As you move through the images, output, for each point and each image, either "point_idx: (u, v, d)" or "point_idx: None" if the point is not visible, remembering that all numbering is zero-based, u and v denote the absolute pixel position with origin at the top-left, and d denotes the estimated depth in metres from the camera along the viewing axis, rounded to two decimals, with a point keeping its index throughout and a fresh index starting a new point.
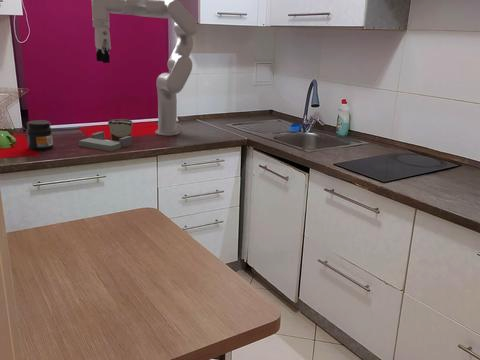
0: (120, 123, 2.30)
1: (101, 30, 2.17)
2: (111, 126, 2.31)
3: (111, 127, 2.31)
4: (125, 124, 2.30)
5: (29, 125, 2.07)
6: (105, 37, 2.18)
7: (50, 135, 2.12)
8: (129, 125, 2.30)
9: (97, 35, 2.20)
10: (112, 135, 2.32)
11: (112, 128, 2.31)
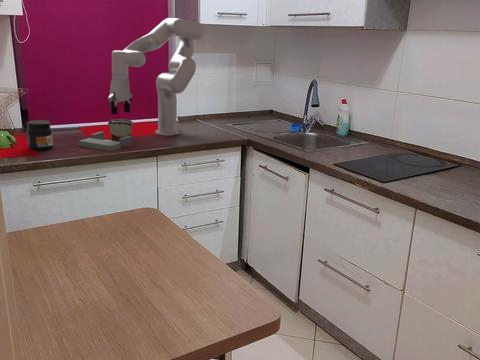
0: (120, 123, 2.30)
1: None
2: (111, 126, 2.31)
3: (111, 127, 2.31)
4: (125, 124, 2.30)
5: (29, 125, 2.07)
6: None
7: (50, 135, 2.12)
8: (129, 125, 2.30)
9: (126, 88, 2.28)
10: (112, 135, 2.32)
11: (112, 128, 2.31)
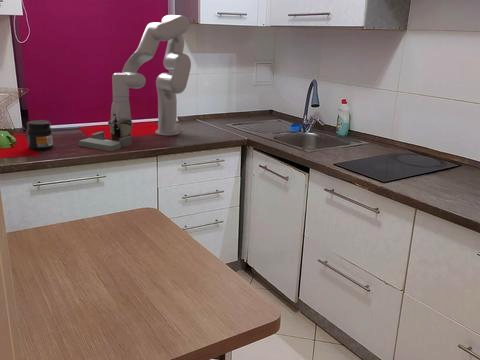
0: (120, 123, 2.30)
1: None
2: (111, 126, 2.31)
3: (111, 127, 2.31)
4: (125, 124, 2.30)
5: (29, 125, 2.07)
6: None
7: (50, 135, 2.12)
8: (129, 125, 2.30)
9: (127, 109, 2.31)
10: (112, 135, 2.33)
11: (111, 127, 2.31)
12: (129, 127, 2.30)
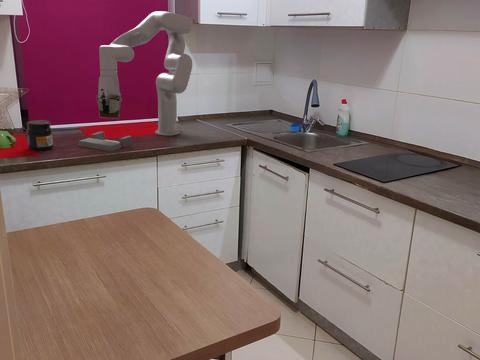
0: None
1: None
2: (99, 102, 2.21)
3: (99, 103, 2.21)
4: (113, 99, 2.19)
5: (29, 125, 2.07)
6: None
7: (50, 135, 2.12)
8: (117, 100, 2.19)
9: (115, 84, 2.20)
10: (100, 111, 2.22)
11: (100, 103, 2.21)
12: (118, 103, 2.19)
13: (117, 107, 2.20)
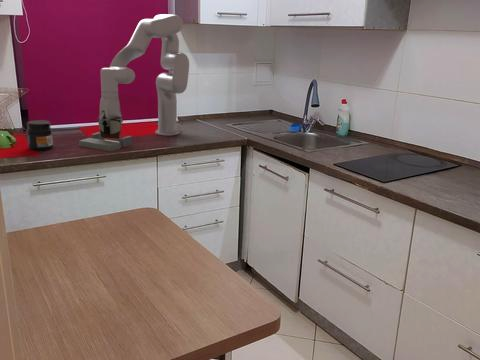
0: None
1: None
2: (100, 123, 2.24)
3: (100, 124, 2.24)
4: (114, 121, 2.22)
5: (29, 125, 2.07)
6: None
7: (50, 135, 2.12)
8: (118, 122, 2.22)
9: (116, 105, 2.23)
10: (101, 132, 2.25)
11: (101, 124, 2.24)
12: (118, 124, 2.22)
13: (118, 128, 2.23)
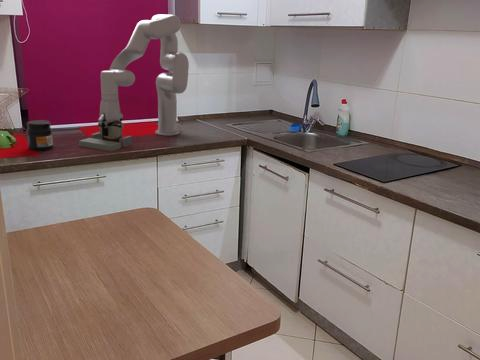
0: (110, 125, 2.23)
1: None
2: (101, 128, 2.25)
3: (101, 129, 2.25)
4: (115, 126, 2.23)
5: (29, 125, 2.07)
6: None
7: (50, 135, 2.12)
8: (119, 127, 2.23)
9: (116, 108, 2.24)
10: (102, 137, 2.26)
11: None
12: (119, 129, 2.23)
13: (119, 133, 2.24)
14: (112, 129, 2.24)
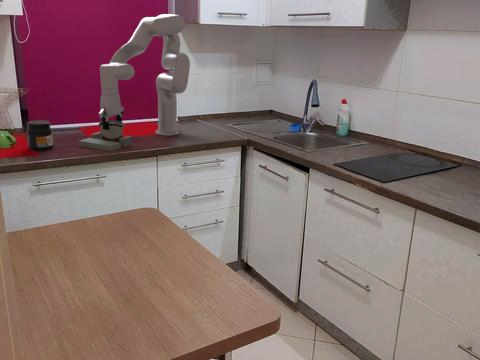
0: (111, 125, 2.24)
1: None
2: (102, 128, 2.25)
3: (102, 129, 2.26)
4: (116, 126, 2.24)
5: (29, 125, 2.07)
6: None
7: (50, 135, 2.12)
8: (120, 127, 2.24)
9: (117, 102, 2.23)
10: (103, 137, 2.27)
11: (102, 129, 2.26)
12: (120, 129, 2.24)
13: (119, 133, 2.25)
14: (113, 129, 2.25)
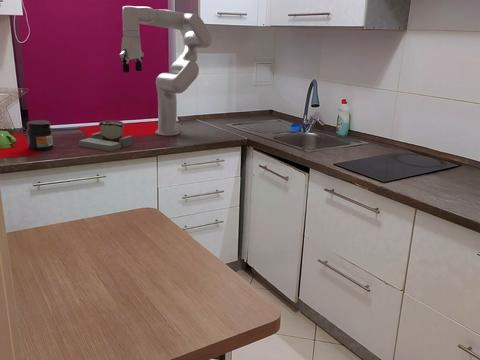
0: (111, 125, 2.24)
1: None
2: (102, 128, 2.25)
3: (102, 129, 2.26)
4: (116, 126, 2.24)
5: (29, 125, 2.07)
6: None
7: (50, 135, 2.12)
8: (120, 127, 2.24)
9: (137, 45, 2.24)
10: (103, 137, 2.27)
11: (102, 129, 2.26)
12: (120, 129, 2.24)
13: (119, 133, 2.25)
14: (113, 129, 2.25)
